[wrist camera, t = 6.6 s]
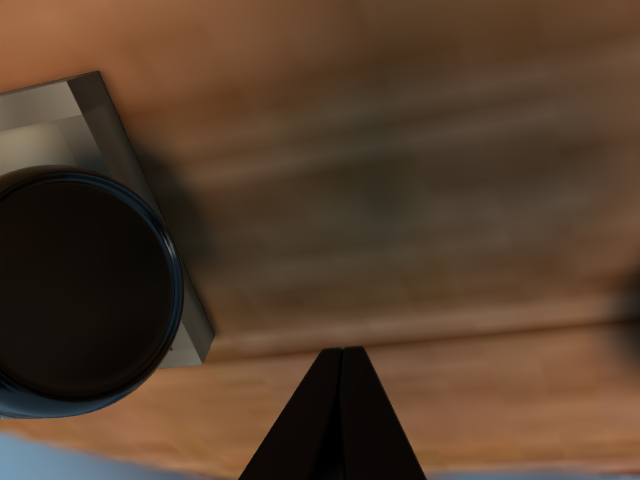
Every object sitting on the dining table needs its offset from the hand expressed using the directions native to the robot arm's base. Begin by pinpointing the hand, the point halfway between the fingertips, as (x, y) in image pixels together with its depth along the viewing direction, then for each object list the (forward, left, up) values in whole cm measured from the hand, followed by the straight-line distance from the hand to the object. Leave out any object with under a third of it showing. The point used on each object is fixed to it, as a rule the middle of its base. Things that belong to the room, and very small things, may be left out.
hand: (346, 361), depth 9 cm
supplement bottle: (+6, -1, -3) cm, 7 cm away
